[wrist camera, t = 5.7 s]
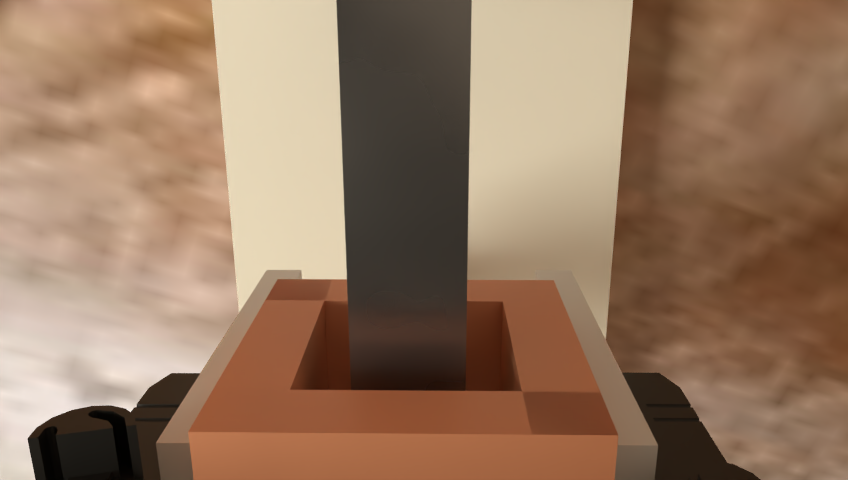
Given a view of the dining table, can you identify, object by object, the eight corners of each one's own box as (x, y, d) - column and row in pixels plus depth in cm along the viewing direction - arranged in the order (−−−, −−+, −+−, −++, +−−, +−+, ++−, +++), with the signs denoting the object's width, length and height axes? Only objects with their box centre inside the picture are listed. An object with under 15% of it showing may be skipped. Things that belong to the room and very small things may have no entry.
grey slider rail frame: (376, -132, 17) (307, -284, 8) (464, -133, 17) (494, -285, 8) (393, 674, 24) (366, 1064, 15) (454, 674, 24) (464, 1066, 15)
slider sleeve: (321, 203, 18) (188, 431, 9) (521, 203, 18) (617, 434, 8) (328, 348, 20) (218, 693, 10) (516, 349, 19) (595, 698, 10)
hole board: (209, -260, 17) (185, -287, 16) (636, -264, 17) (657, -292, 15) (281, 641, 26) (270, 684, 24) (569, 645, 25) (578, 688, 24)
